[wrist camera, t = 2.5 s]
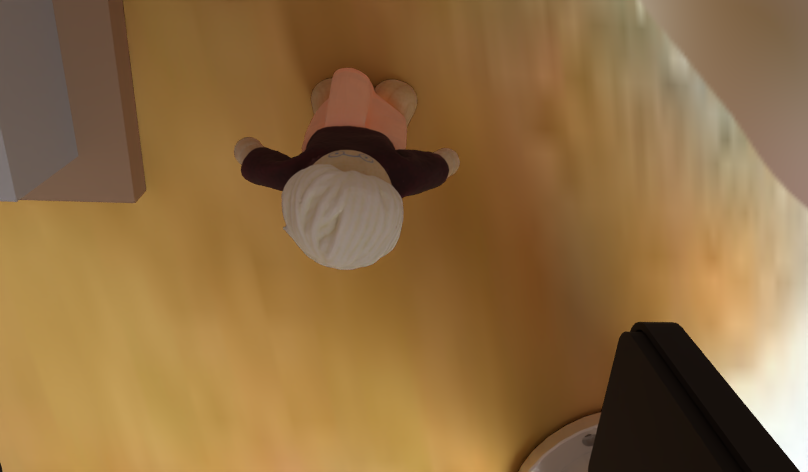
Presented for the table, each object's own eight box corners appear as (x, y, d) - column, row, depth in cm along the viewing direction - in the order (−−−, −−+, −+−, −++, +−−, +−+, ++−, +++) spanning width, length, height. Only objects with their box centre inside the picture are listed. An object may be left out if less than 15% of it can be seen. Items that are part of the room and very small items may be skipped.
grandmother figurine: (435, 51, 26) (490, 136, 15) (444, 140, 28) (500, 279, 16) (252, 76, 26) (163, 180, 15) (271, 163, 28) (206, 319, 16)
